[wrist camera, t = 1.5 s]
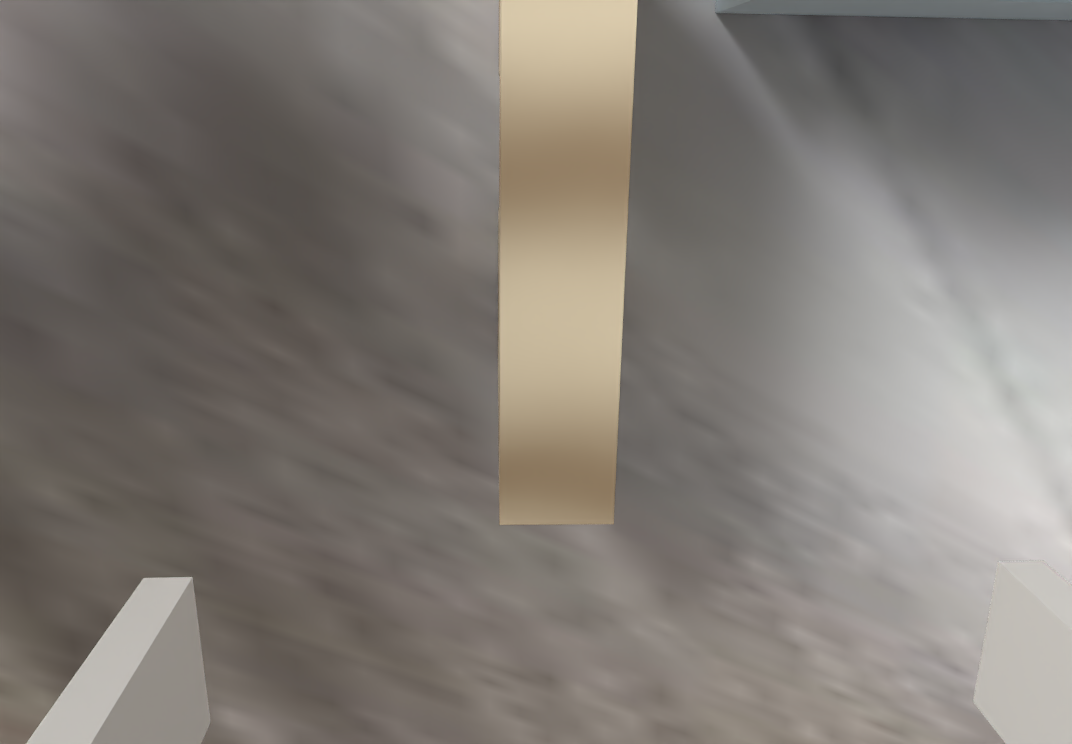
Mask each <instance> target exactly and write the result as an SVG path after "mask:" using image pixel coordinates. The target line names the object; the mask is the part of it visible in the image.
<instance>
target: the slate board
mask: <svg viewBox="0 0 1072 744" xmlns="http://www.w3.org/2000/svg"><path fill="white" fill-rule="evenodd" d="M715 13H735V14H784V15H833V16H881V17H930V18H979V19H1028V20H1072V0H716V8H715Z"/></svg>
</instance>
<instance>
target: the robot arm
mask: <svg viewBox="0 0 1072 744" xmlns="http://www.w3.org/2000/svg"><path fill="white" fill-rule="evenodd" d="M973 702H974V704H975V705H976V706H977V707H978V709H979V710H980V711H981V713H982V714H983V715H984V716H985V718H986V719H987V720H988V722H989V723H990V724H991V725H992V727H993V728H994V729H995V731H996V732H997V733H998V734H999V736H1000V737H1001V738H1002V739H1003V741H1004V742H1005V743H1006V744H1072V585H1071V584H1070V583H1069V582H1068V581H1066V580H1065V579H1064V578H1063V577H1062V576H1061V575H1059V574H1058V573H1057V572H1056V571H1055V570H1054V569H1052V568H1051V567H1050V566H1049V565H1048V564H1047V563H1046V562H1044V561H998V565H997V571H996V576H995V582H994V587H993V593H992V598H991V604H990V610H989V615H988V621H987V626H986V632H985V637H984V643H983V648H982V654H981V659H980V665H979V671H978V676H977V682H976V687H975V693H974V698H973ZM210 723H211V720H210V712H209V704H208V696H207V688H206V680H205V672H204V664H203V656H202V648H201V640H200V632H199V624H198V616H197V608H196V600H195V592H194V584H193V577H168V578H143V579H142V581H141V582H140V584H139V585H138V586H137V588H136V589H135V591H134V592H133V594H132V595H131V596H130V598H129V599H128V601H127V602H126V603H125V605H124V606H123V608H122V609H121V610H120V612H119V613H118V615H117V616H116V617H115V619H114V620H113V622H112V623H111V625H110V626H109V627H108V629H107V630H106V632H105V633H104V634H103V636H102V637H101V639H100V640H99V641H98V643H97V644H96V646H95V647H94V649H93V650H92V651H91V653H90V654H89V656H88V657H87V658H86V660H85V661H84V663H83V664H82V665H81V667H80V668H79V670H78V671H77V672H76V674H75V675H74V677H73V678H72V680H71V681H70V682H69V684H68V685H67V687H66V688H65V689H64V691H63V692H62V694H61V695H60V696H59V698H58V699H57V701H56V702H55V703H54V705H53V706H52V708H51V709H50V711H49V712H48V713H47V715H46V716H45V718H44V719H43V720H42V722H41V723H40V725H39V726H38V727H37V729H36V730H35V732H34V733H33V735H32V736H31V737H30V739H29V740H28V742H27V743H26V744H201V743H202V741H203V738H204V736H205V734H206V732H207V729H208V727H209V725H210Z"/></svg>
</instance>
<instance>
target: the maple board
mask: <svg viewBox="0 0 1072 744" xmlns="http://www.w3.org/2000/svg"><path fill="white" fill-rule="evenodd" d="M637 3H638V0H499V76H500V140H499V208H498V402H499V525H562V524H614V504H615V482H616V460H617V438H618V417H619V395H620V373H621V351H622V330H623V308H624V286H625V264H626V243H627V221H628V199H629V177H630V156H631V134H632V112H633V90H634V68H635V47H636V25H637Z"/></svg>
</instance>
